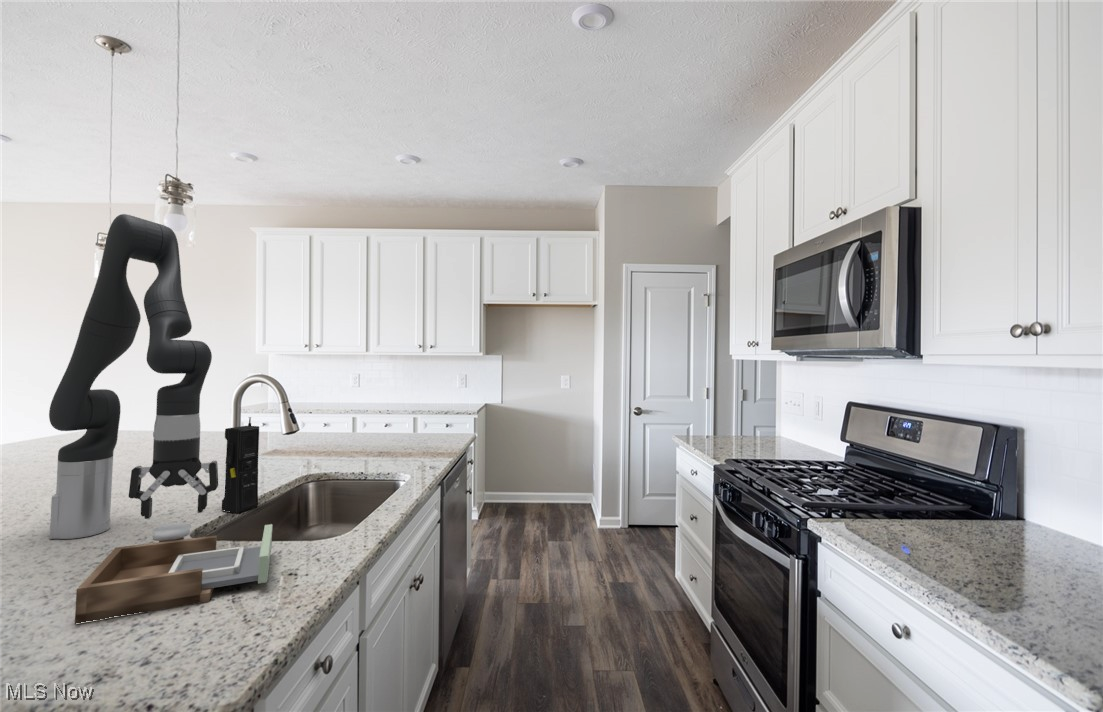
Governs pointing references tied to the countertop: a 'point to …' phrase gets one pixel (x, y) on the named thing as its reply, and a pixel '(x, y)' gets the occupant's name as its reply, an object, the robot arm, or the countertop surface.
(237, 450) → the portable radio
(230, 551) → the tray
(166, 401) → the robot arm
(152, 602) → the wooden drawer box
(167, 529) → the disc
